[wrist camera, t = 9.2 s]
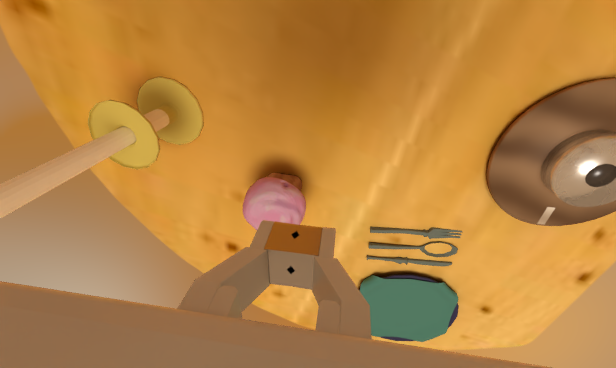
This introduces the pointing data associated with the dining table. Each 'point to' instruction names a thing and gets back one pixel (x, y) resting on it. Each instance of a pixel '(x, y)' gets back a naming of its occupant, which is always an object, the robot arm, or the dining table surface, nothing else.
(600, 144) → the cover
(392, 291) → the cutlery set
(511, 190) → the platter
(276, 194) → the cupcake
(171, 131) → the candle
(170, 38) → the dining table surface
